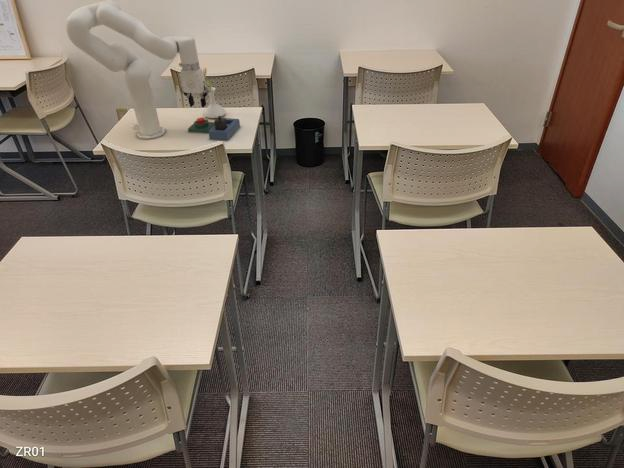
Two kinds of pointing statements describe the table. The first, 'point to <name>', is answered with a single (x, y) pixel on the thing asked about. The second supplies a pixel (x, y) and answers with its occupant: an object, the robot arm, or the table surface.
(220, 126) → the charger
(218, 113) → the flower in vase
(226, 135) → the blue tray
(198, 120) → the power button
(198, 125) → the switch box
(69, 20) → the robot arm
